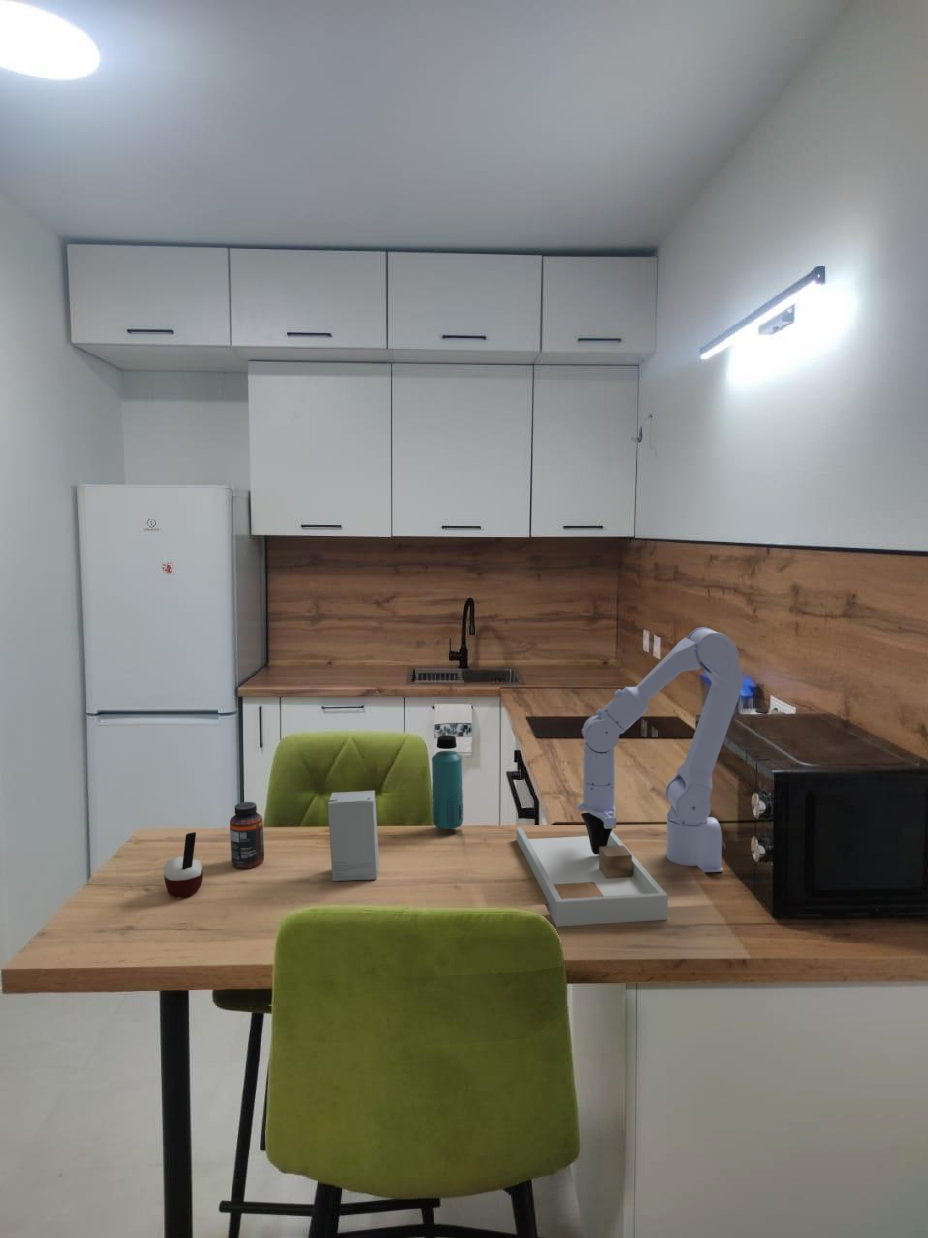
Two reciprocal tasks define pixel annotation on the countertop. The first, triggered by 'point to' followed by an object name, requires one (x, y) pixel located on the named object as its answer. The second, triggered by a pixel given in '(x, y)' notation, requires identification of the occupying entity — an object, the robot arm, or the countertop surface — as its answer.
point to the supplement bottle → (246, 836)
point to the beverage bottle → (447, 785)
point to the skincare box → (353, 836)
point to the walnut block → (615, 862)
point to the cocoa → (184, 871)
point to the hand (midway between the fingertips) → (598, 852)
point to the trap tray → (580, 865)
